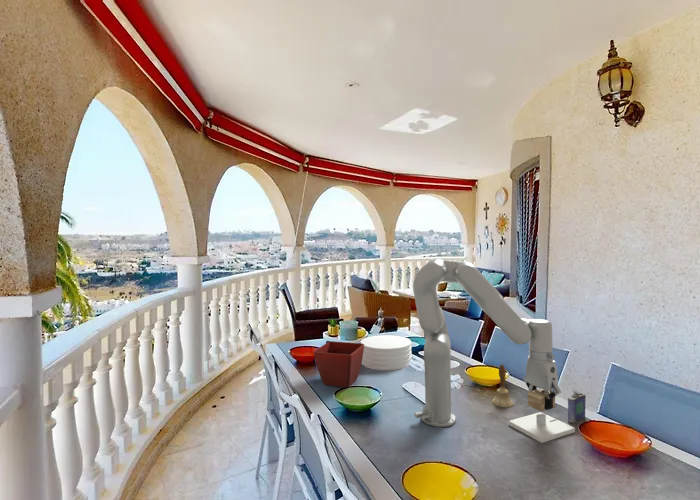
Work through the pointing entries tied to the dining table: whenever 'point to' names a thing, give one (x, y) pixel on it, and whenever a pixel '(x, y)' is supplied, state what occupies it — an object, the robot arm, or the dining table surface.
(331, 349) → the plant pot
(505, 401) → the hand bell
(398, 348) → the plate stack
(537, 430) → the shaft board
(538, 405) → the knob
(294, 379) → the dining table surface
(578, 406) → the flask
